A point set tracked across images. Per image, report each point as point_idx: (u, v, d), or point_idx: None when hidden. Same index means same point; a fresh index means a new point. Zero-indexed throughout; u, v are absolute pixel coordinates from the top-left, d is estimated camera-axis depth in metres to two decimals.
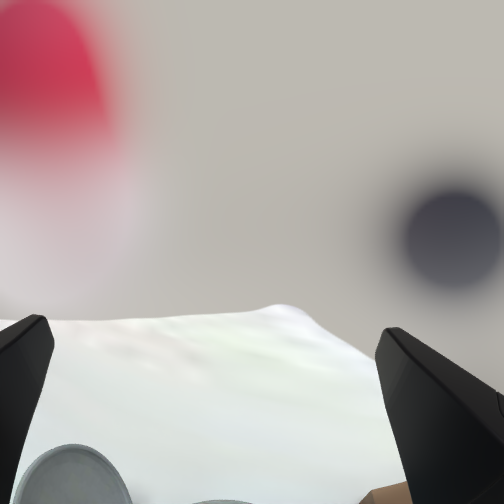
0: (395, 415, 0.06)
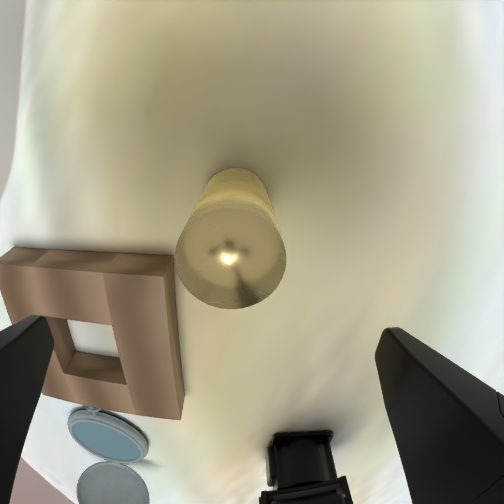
0: (395, 415, 0.06)
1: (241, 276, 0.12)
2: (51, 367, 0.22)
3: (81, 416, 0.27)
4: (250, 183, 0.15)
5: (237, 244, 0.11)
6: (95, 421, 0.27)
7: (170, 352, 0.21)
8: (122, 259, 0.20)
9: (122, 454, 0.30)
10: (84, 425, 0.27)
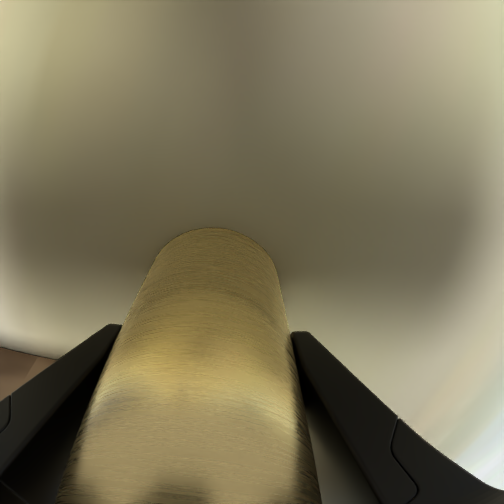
0: None
1: None
2: None
3: None
4: (239, 319, 0.05)
5: None
6: None
7: None
8: None
9: None
10: None
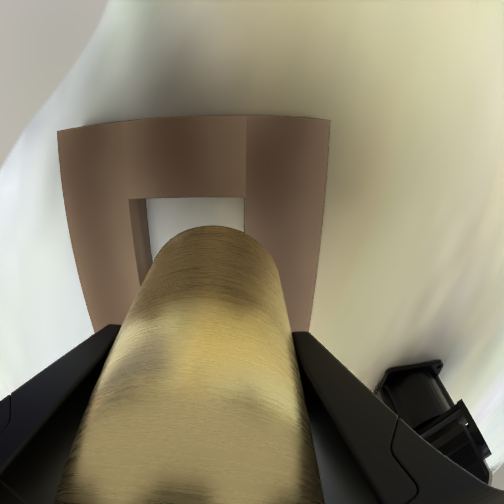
0: None
1: None
2: (123, 292, 0.18)
3: None
4: (240, 316, 0.05)
5: None
6: None
7: (320, 234, 0.17)
8: None
9: None
10: None
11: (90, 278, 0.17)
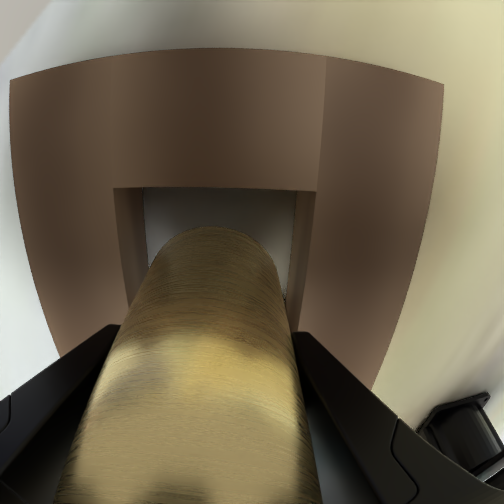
0: None
1: None
2: None
3: None
4: (238, 318, 0.05)
5: None
6: None
7: (415, 255, 0.10)
8: None
9: None
10: None
11: (58, 311, 0.11)
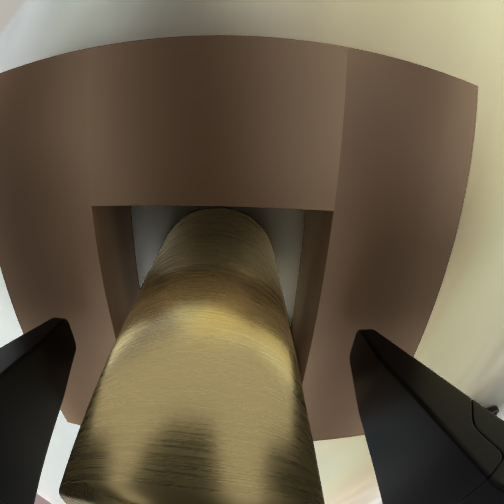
0: (367, 420, 0.06)
1: None
2: (95, 366, 0.10)
3: None
4: (240, 269, 0.07)
5: None
6: None
7: (440, 280, 0.09)
8: None
9: None
10: None
11: None
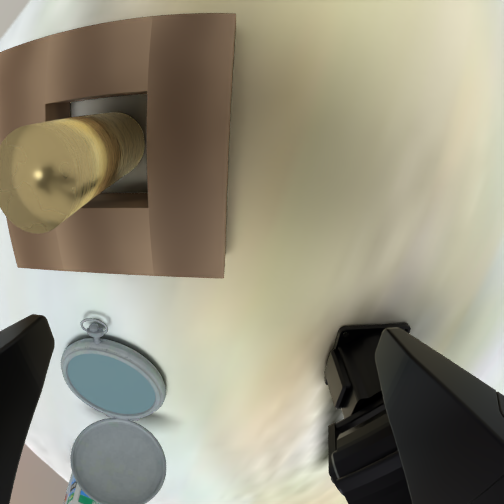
0: (395, 415, 0.06)
1: (39, 196, 0.09)
2: None
3: (79, 347, 0.22)
4: (97, 116, 0.13)
5: (32, 161, 0.09)
6: (98, 351, 0.22)
7: (227, 129, 0.14)
8: None
9: (131, 404, 0.25)
10: (83, 361, 0.23)
11: None
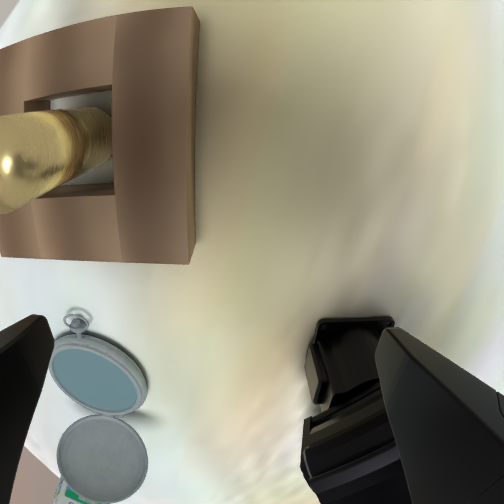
0: (395, 415, 0.06)
1: (5, 179, 0.09)
2: None
3: (63, 342, 0.22)
4: (66, 110, 0.13)
5: None
6: (80, 346, 0.22)
7: (186, 116, 0.14)
8: None
9: (114, 401, 0.25)
10: (67, 357, 0.23)
11: None
